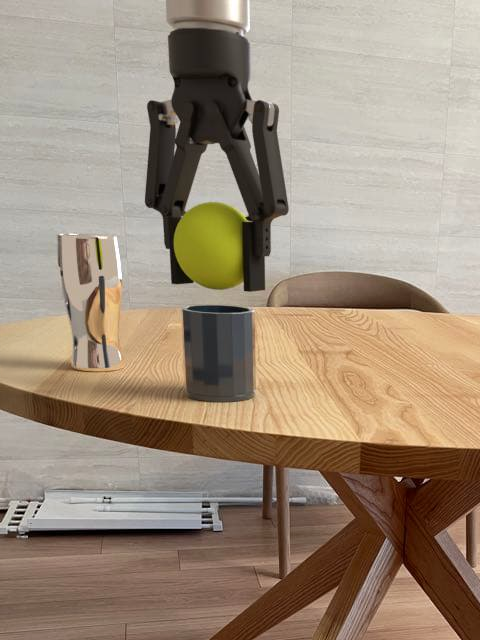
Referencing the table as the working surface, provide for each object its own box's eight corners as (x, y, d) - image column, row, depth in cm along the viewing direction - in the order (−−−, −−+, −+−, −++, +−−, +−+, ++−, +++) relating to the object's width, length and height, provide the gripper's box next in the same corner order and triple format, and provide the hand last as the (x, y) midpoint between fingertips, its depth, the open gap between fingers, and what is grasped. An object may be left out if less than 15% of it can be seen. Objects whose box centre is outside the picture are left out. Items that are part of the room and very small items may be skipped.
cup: (171, 395, 88) (166, 308, 84) (213, 384, 94) (210, 302, 90) (228, 405, 85) (226, 315, 81) (268, 393, 91) (267, 309, 88)
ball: (158, 288, 83) (153, 198, 80) (209, 284, 90) (206, 201, 87) (227, 295, 80) (224, 202, 77) (274, 290, 87) (273, 204, 84)
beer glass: (103, 374, 96) (91, 237, 90) (54, 368, 98) (40, 233, 92) (140, 365, 102) (131, 236, 96) (94, 359, 104) (83, 233, 98)
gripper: (328, 38, 76) (325, 293, 84) (146, 44, 84) (160, 277, 92) (284, 20, 70) (285, 298, 78) (92, 28, 77) (112, 280, 86)
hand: (217, 286), depth 85 cm, fingers closed on ball, 8 cm apart
